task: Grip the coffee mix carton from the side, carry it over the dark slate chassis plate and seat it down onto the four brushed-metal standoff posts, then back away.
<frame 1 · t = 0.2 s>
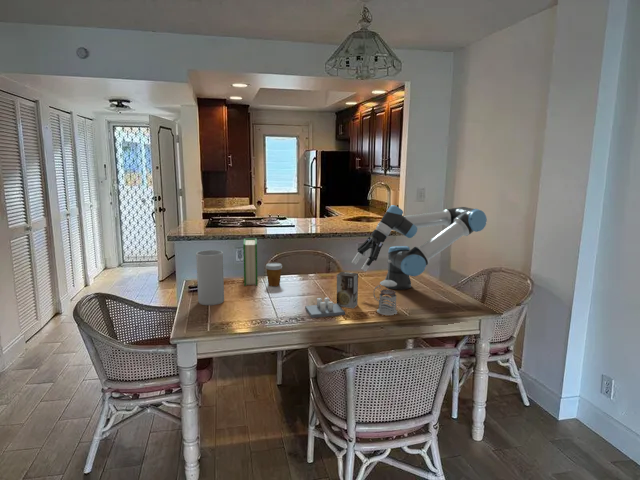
hand: (358, 266, 218), 16 cm above the table, tool tilted 35°, fingers open, 13 cm apart
disposable coffee cup: (274, 285, 240), on the table
cylinder vase: (211, 302, 210), on the table
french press: (385, 311, 199), on the table
coffee box: (346, 306, 207), on the table
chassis: (324, 311, 198), on the table
hardback book: (250, 281, 246), on the table
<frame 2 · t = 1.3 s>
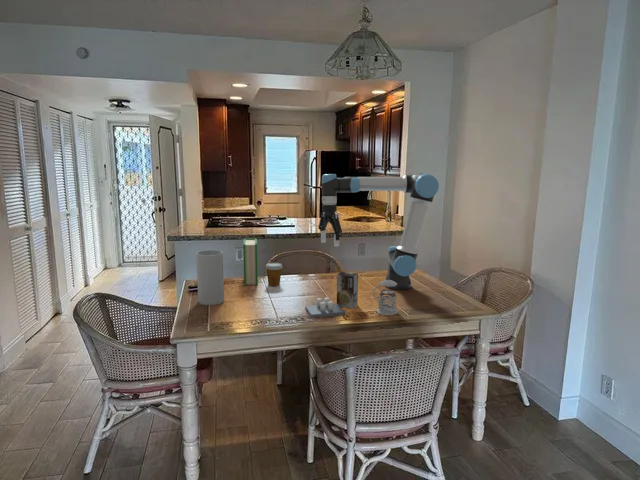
hand: (329, 244, 222), 26 cm above the table, tool pointing down, fingers open, 13 cm apart
nothing on the table moved.
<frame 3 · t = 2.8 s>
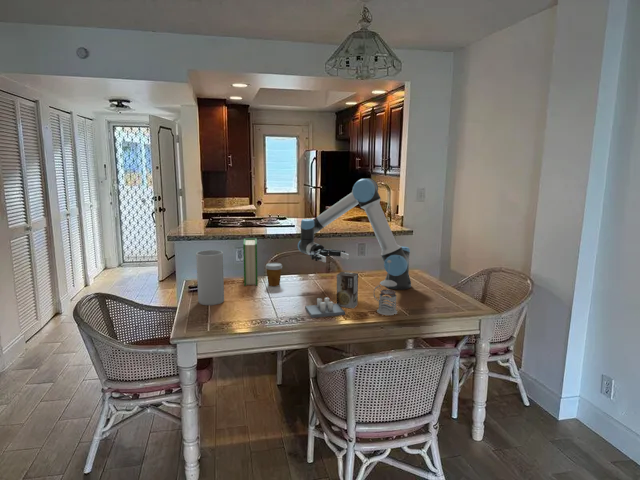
hand: (337, 258, 211), 22 cm above the table, tool horizontal, fingers open, 13 cm apart
nothing on the table moved.
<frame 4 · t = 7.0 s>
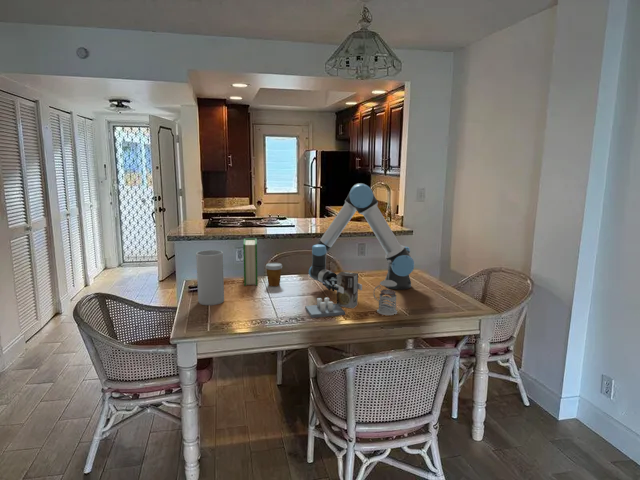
hand: (352, 289, 201), 10 cm above the table, tool horizontal, fingers closed on coffee box, 10 cm apart
coffee box: (346, 305, 207), on the table, touching gripper
everything else where it was.
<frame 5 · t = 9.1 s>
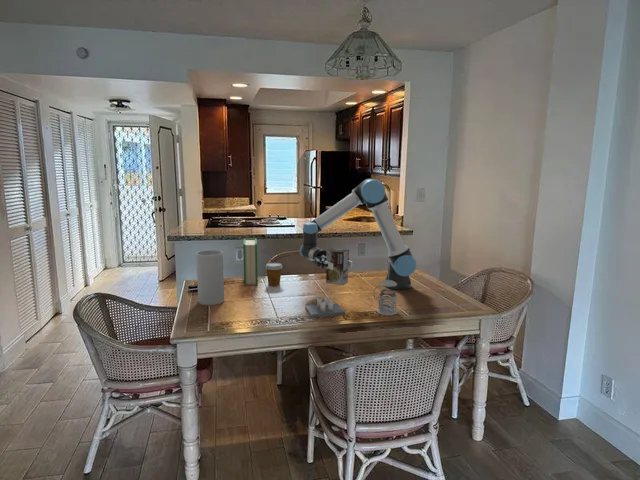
hand: (342, 265, 196), 22 cm above the table, tool horizontal, fingers closed on coffee box, 10 cm apart
coffee box: (336, 283, 202), point 12 cm above the table, touching gripper
everything else where it was.
when the fingers open (16 cm above the table, at t = 11.2 s): coffee box drops 1 cm, resting on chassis.
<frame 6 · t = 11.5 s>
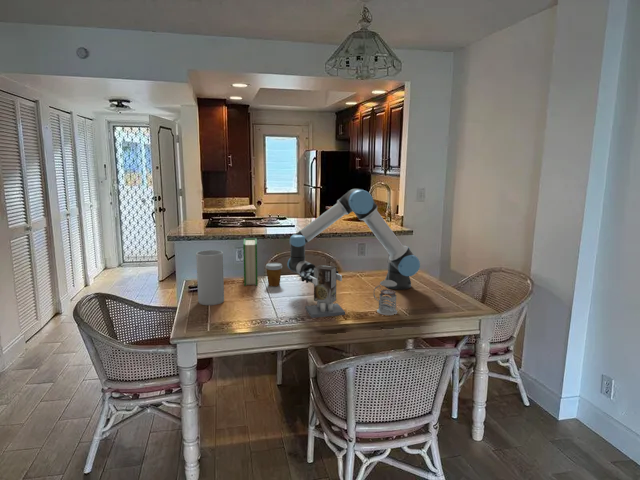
hand: (329, 280, 192), 16 cm above the table, tool horizontal, fingers open, 12 cm apart
coffee box: (325, 300, 197), point 5 cm above the table, touching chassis
everything else where it was.
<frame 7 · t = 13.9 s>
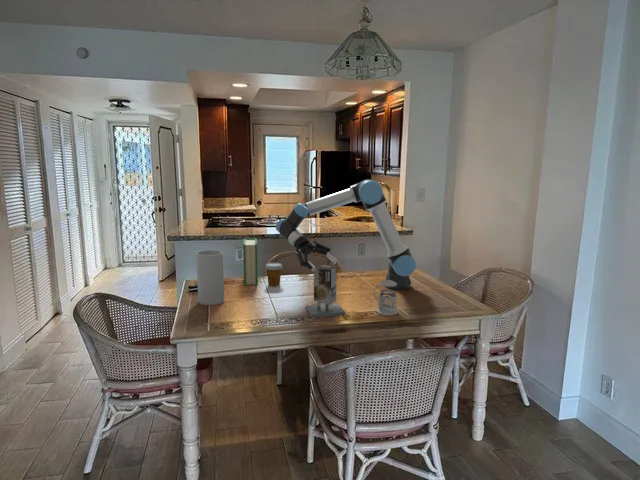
hand: (326, 266, 209), 18 cm above the table, tool tilted 60°, fingers open, 13 cm apart
nothing on the table moved.
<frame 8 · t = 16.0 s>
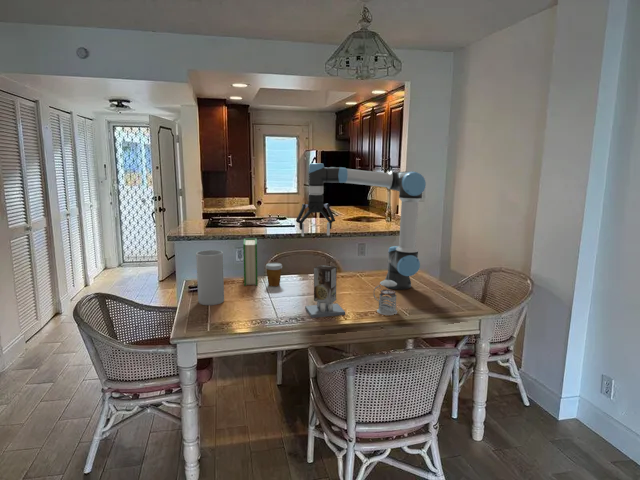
hand: (315, 235, 217), 32 cm above the table, tool pointing down, fingers open, 13 cm apart
nothing on the table moved.
at the end: coffee box 0.1 cm off-centre on the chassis, point 5.3 cm above the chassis's base; coffee box tilted 0°; the gripper is holding nothing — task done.
